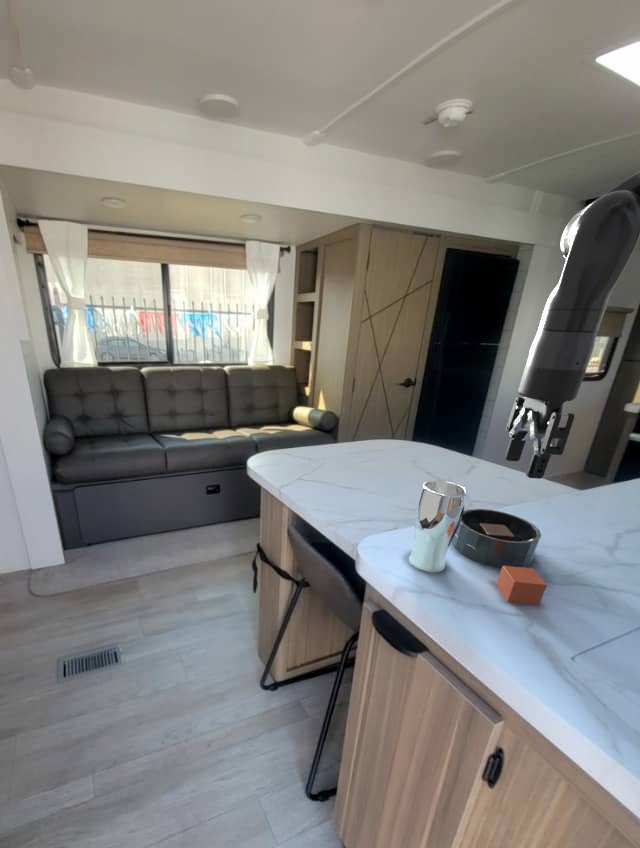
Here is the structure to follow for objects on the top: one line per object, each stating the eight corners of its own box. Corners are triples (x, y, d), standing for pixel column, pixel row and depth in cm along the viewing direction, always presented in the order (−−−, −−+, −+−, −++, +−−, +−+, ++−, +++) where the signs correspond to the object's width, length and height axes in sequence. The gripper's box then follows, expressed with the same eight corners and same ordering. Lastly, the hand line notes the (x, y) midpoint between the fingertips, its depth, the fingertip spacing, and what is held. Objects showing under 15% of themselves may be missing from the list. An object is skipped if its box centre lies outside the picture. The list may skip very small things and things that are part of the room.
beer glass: (411, 551, 76) (428, 476, 69) (451, 564, 72) (472, 486, 66) (399, 568, 71) (416, 489, 64) (441, 582, 67) (464, 500, 60)
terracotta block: (524, 591, 65) (533, 568, 63) (537, 609, 61) (547, 585, 59) (494, 588, 66) (502, 565, 64) (505, 606, 62) (514, 582, 60)
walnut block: (497, 545, 78) (504, 524, 76) (507, 558, 73) (515, 536, 72) (473, 543, 78) (479, 522, 76) (481, 555, 74) (488, 534, 72)
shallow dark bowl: (511, 538, 81) (520, 511, 78) (543, 576, 69) (556, 546, 67) (442, 532, 83) (449, 506, 80) (463, 568, 71) (471, 539, 68)
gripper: (614, 371, 53) (569, 486, 60) (558, 360, 65) (527, 456, 73) (552, 369, 54) (515, 482, 61) (509, 359, 66) (483, 453, 74)
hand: (521, 468), depth 67 cm, fingers open, 8 cm apart
